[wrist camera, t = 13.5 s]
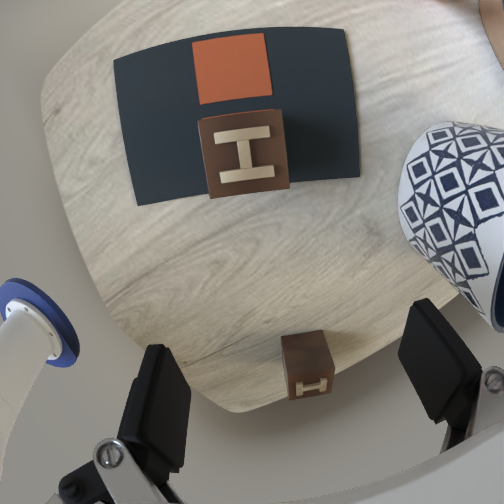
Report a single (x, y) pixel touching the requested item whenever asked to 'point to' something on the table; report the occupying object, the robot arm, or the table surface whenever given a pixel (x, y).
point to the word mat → (236, 103)
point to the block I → (307, 365)
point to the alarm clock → (494, 25)
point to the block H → (244, 153)
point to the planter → (459, 210)
